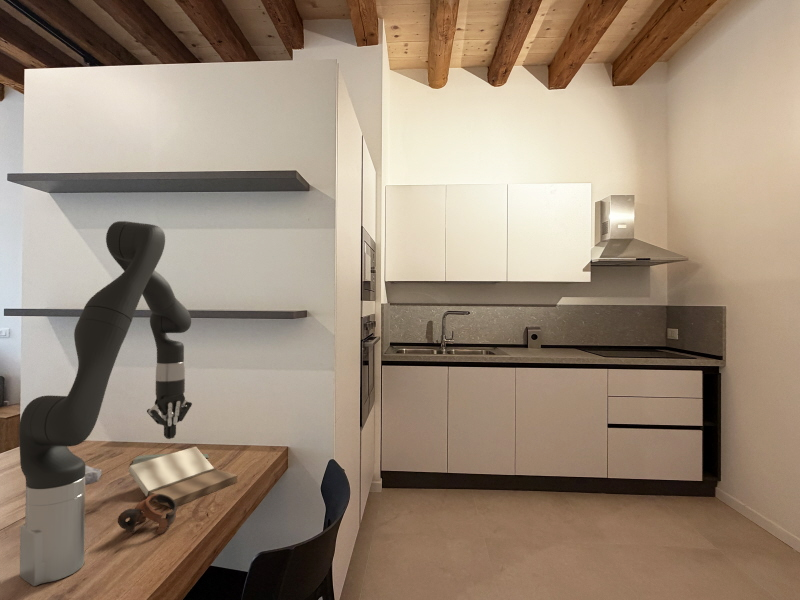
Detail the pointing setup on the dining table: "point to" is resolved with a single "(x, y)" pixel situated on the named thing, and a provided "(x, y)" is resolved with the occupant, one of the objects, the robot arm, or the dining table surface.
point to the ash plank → (169, 469)
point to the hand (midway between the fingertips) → (170, 437)
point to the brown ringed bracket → (148, 514)
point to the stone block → (91, 474)
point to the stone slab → (152, 457)
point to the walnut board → (196, 486)
